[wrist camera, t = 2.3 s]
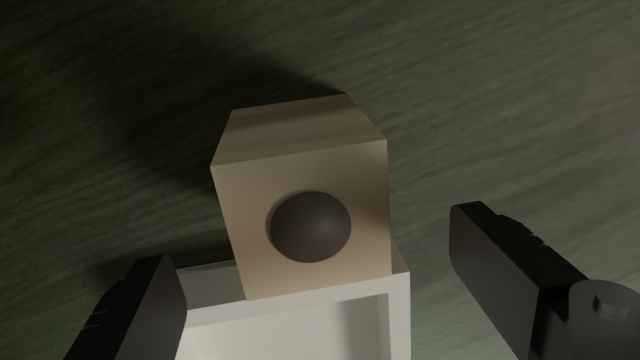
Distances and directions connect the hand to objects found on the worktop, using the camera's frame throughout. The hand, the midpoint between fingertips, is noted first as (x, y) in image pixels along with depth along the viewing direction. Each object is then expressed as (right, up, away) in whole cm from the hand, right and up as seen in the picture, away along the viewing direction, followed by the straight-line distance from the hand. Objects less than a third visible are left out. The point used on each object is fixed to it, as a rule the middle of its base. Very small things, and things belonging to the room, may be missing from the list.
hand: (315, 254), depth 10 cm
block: (-1, +3, +6) cm, 7 cm away
